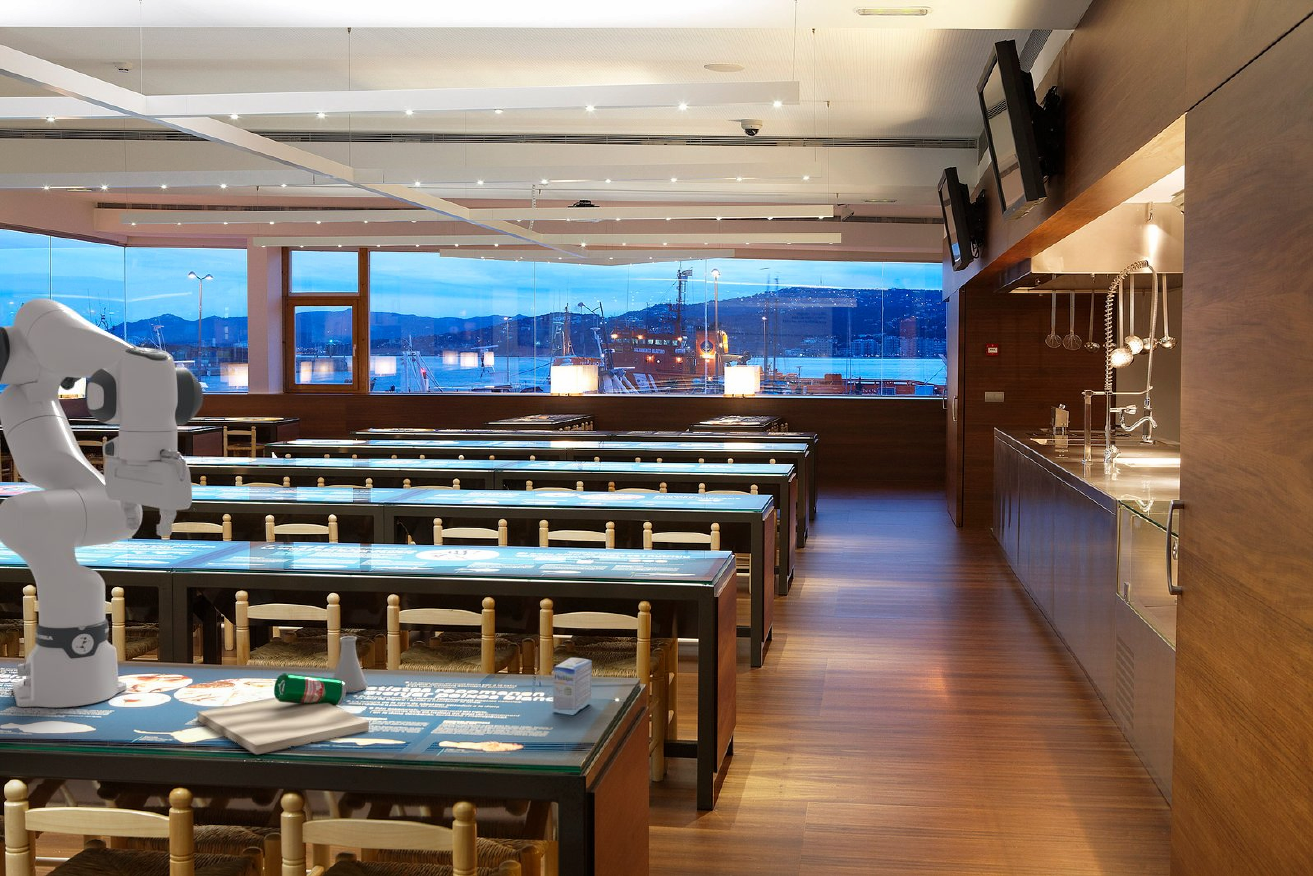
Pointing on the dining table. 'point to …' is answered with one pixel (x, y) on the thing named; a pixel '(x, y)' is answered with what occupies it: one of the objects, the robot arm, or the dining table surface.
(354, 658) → the flask
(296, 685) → the soda can
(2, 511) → the robot arm
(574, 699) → the medicine box
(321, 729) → the birch board
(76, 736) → the dining table surface
